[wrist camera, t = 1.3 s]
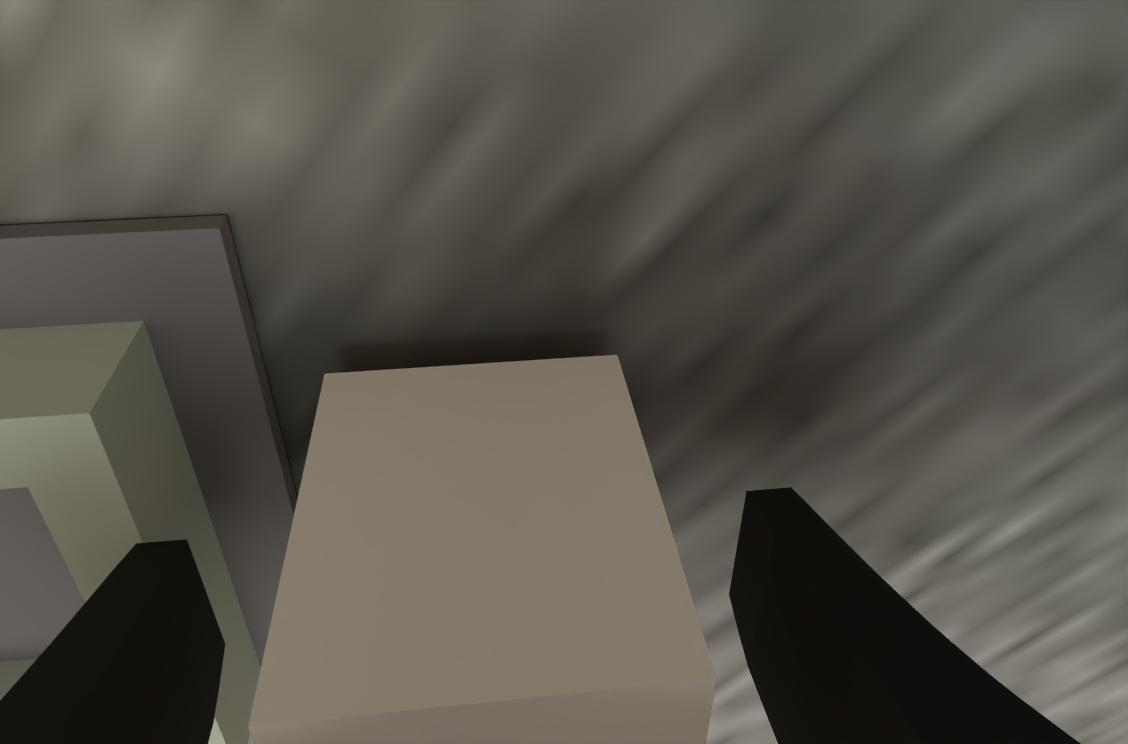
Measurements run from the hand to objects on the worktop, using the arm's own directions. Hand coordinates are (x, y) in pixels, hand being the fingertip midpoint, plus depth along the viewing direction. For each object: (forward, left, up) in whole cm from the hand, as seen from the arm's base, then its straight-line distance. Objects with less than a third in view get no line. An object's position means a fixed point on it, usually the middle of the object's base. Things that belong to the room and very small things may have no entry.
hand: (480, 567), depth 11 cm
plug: (0, 0, -3) cm, 3 cm away
